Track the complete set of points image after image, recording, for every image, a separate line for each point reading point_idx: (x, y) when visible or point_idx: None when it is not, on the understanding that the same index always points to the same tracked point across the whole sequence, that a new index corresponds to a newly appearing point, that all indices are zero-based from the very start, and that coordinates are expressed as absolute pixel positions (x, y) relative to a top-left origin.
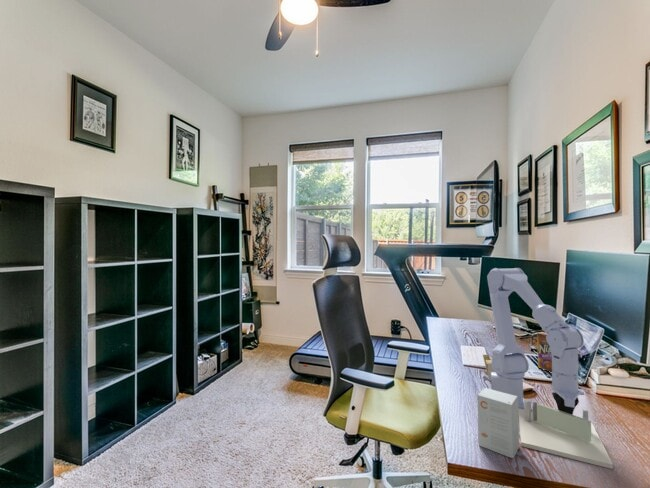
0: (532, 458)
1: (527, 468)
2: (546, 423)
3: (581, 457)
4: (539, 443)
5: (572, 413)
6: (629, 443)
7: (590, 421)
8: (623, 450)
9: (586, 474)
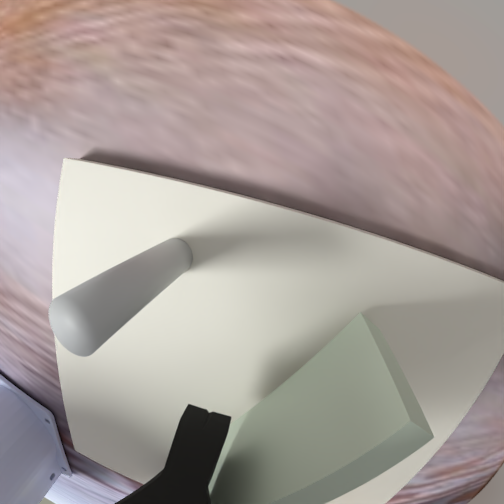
0: (422, 496)
1: (455, 498)
2: None
3: (472, 401)
4: (371, 498)
5: (208, 478)
6: (237, 20)
7: (417, 426)
8: (348, 98)
9: None
